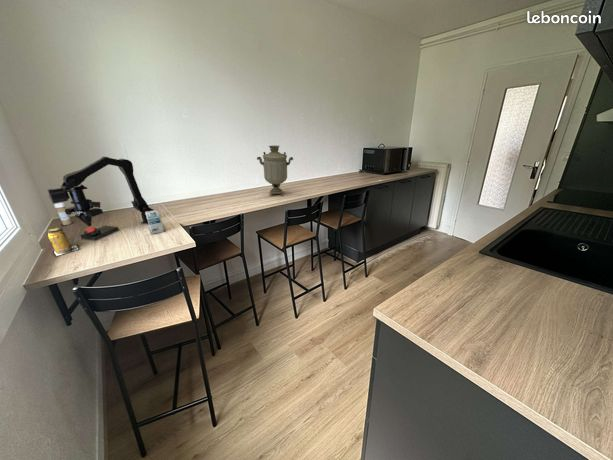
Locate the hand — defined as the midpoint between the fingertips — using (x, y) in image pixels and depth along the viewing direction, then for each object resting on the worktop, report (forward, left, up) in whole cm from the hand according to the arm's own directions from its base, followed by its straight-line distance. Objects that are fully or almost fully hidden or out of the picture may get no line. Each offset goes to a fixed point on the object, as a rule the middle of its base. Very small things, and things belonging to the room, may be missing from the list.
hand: (89, 226), depth 137 cm
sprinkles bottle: (+36, -11, -7) cm, 38 cm away
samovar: (-70, -108, -7) cm, 129 cm away
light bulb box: (-27, -16, -7) cm, 32 cm away
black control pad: (0, -4, -7) cm, 8 cm away
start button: (0, 0, -3) cm, 3 cm away
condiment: (-2, +16, -7) cm, 17 cm away
